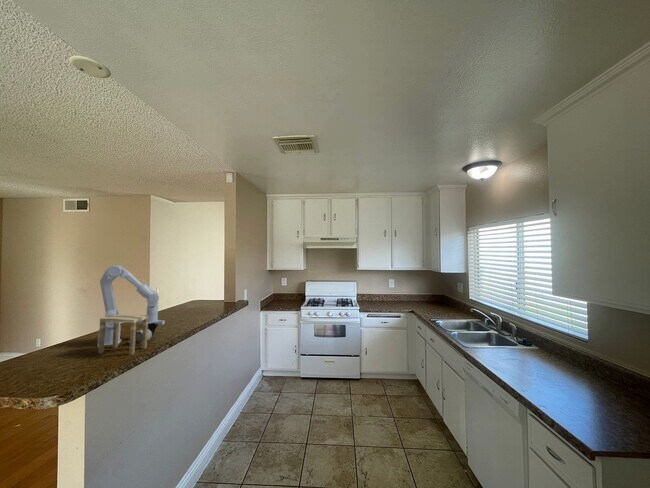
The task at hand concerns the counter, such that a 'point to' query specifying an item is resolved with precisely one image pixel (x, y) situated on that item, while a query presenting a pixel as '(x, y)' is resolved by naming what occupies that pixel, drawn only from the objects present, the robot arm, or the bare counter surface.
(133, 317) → the counter shelf
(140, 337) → the ceramic mug
